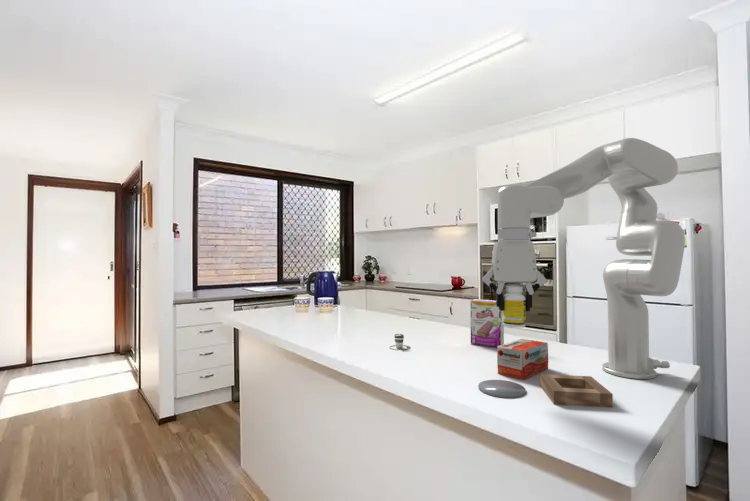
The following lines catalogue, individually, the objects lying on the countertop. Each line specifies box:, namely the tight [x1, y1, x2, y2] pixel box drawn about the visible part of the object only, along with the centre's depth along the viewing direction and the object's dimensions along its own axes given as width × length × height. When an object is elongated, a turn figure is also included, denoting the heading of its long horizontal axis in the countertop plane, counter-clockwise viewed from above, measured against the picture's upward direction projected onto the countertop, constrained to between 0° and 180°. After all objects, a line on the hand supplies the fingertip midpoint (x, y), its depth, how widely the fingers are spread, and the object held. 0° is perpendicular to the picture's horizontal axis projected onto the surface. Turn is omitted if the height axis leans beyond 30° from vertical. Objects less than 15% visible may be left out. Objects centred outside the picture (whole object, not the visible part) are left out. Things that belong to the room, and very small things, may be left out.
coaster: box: [477, 379, 526, 399], centre depth 94 cm, size 11×11×1 cm
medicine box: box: [496, 338, 549, 381], centre depth 109 cm, size 15×8×8 cm, turn 132°
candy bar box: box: [470, 298, 505, 348], centre depth 141 cm, size 11×5×16 cm, turn 58°
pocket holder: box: [539, 373, 614, 409], centre depth 90 cm, size 12×12×3 cm
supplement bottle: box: [502, 285, 527, 329], centre depth 94 cm, size 5×5×10 cm
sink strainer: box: [389, 333, 411, 351], centre depth 138 cm, size 12×12×5 cm
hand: (513, 309), depth 94 cm, fingers closed on supplement bottle, 5 cm apart
